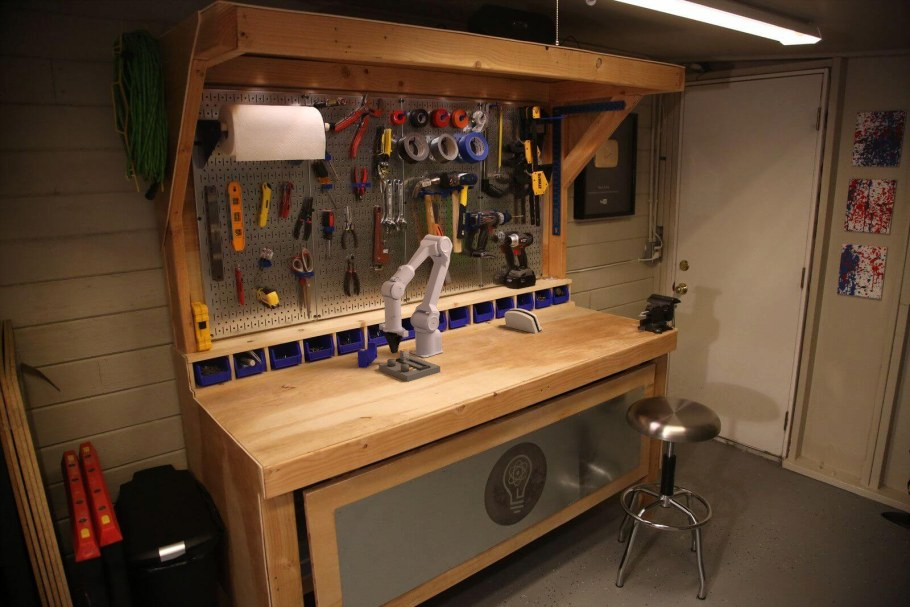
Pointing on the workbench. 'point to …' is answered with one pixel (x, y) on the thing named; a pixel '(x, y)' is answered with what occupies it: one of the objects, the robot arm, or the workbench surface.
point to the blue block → (367, 355)
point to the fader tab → (404, 355)
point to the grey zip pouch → (522, 320)
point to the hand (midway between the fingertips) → (394, 352)
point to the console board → (409, 368)
